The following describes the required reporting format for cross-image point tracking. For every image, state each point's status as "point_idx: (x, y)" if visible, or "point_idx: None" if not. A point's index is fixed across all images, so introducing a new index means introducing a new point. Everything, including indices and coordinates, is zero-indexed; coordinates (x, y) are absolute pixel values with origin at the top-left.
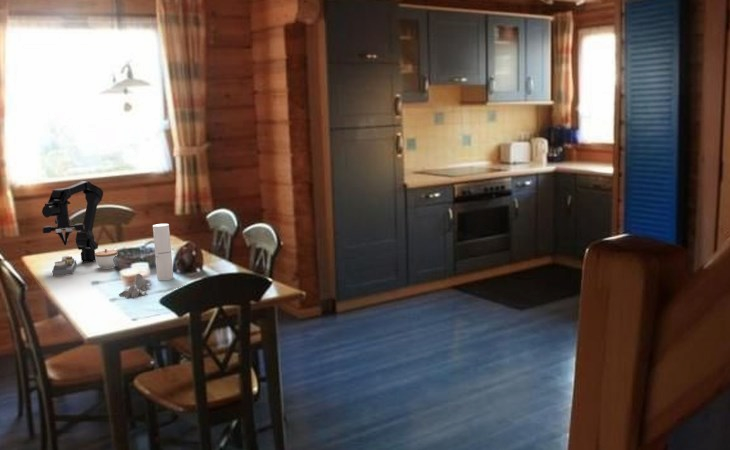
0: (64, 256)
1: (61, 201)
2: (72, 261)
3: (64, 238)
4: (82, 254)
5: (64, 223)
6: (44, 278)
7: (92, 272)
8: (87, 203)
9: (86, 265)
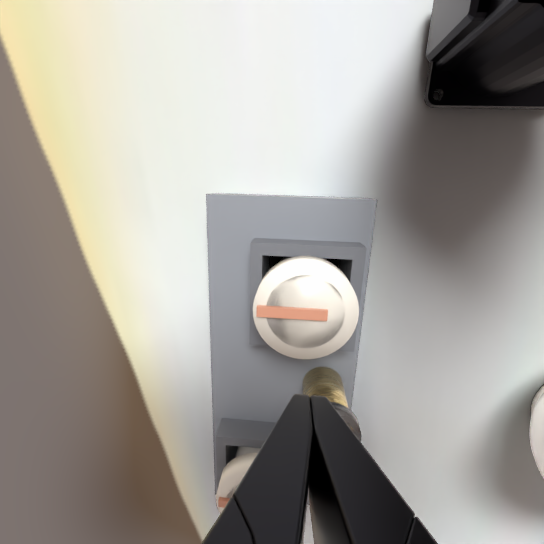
0: (276, 280)
1: None
2: (348, 348)
3: (301, 537)
4: (480, 36)
5: None
6: (186, 486)
7: (454, 485)
8: None
9: (444, 253)
